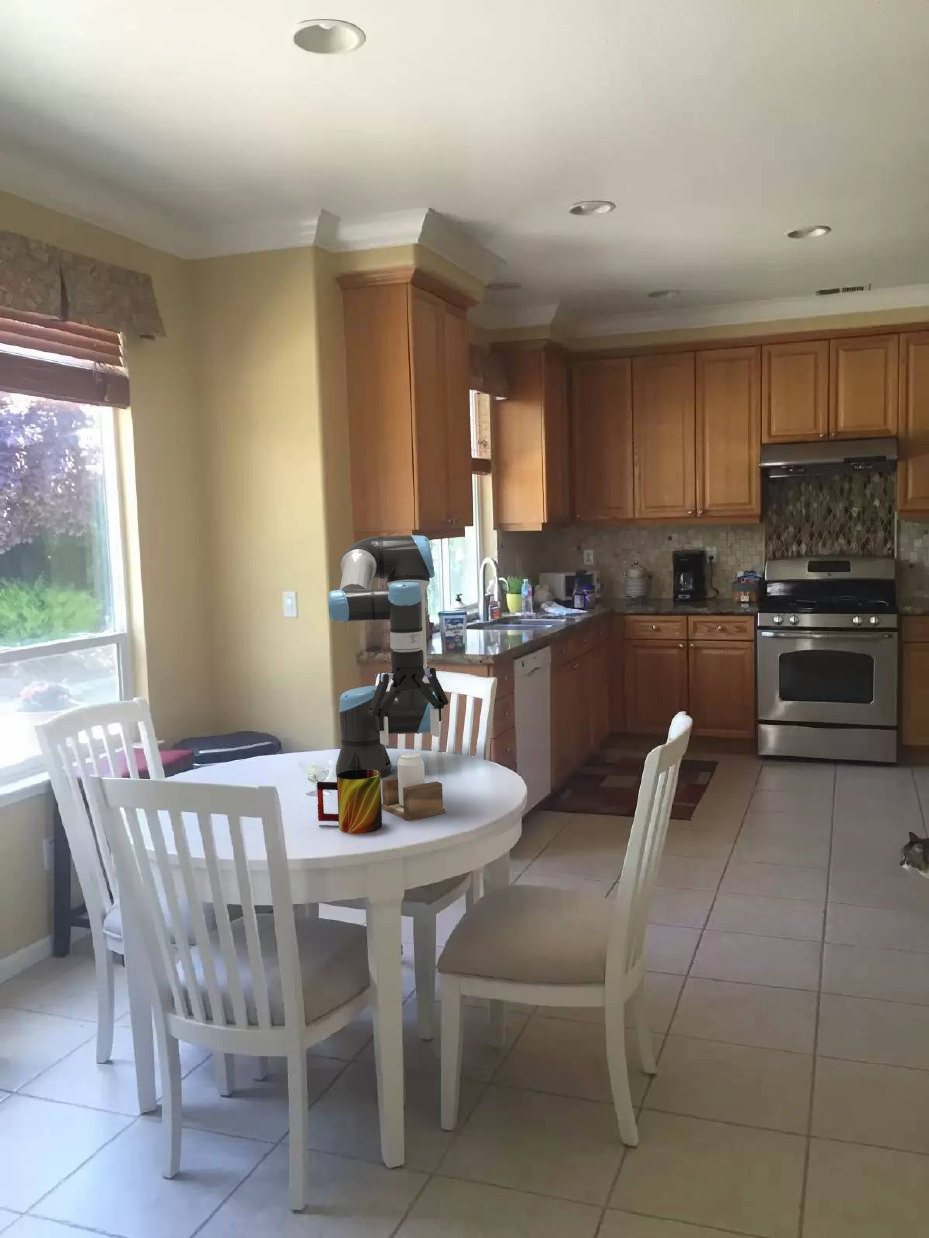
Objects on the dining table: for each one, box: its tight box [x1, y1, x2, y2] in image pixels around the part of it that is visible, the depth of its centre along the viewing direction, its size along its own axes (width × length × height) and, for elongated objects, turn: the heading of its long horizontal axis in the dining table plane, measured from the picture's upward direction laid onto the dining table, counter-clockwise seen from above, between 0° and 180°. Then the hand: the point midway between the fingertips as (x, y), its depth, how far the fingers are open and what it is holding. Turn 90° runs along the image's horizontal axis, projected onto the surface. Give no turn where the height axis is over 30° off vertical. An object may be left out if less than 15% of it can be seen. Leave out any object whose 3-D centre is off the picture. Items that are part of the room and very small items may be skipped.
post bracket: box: [381, 775, 446, 821], centre depth 239 cm, size 13×10×7 cm
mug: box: [316, 769, 383, 835], centre depth 226 cm, size 10×14×12 cm
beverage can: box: [396, 752, 426, 806], centre depth 239 cm, size 6×6×12 cm
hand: (410, 740), depth 238 cm, fingers open, 13 cm apart
